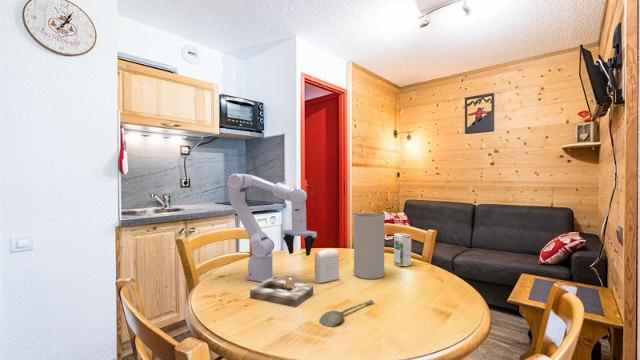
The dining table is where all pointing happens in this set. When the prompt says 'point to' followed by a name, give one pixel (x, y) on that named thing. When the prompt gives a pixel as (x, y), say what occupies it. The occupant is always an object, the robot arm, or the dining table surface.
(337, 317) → the soupspoon
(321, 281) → the photo printer
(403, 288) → the dining table surface
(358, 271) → the cylinder vase
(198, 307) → the dining table surface
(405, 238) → the drink can
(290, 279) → the brass key peg
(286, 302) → the keyhole board
